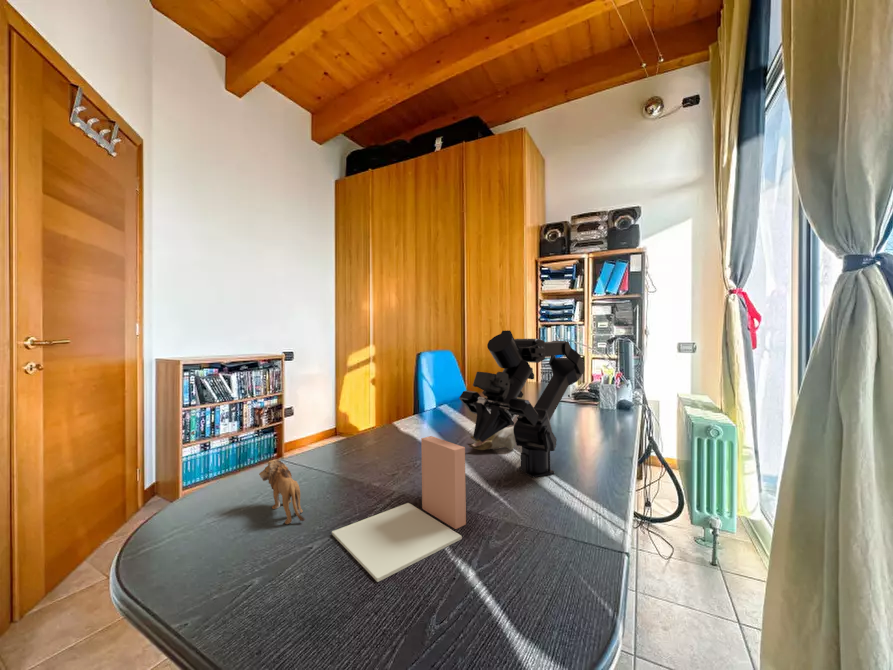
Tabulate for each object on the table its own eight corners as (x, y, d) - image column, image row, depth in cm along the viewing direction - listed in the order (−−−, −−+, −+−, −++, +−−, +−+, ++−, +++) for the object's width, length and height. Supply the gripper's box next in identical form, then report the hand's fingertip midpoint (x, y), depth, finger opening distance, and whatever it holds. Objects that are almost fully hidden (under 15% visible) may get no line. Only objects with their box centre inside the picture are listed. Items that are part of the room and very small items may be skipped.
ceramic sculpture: (519, 424, 102) (467, 426, 104) (521, 454, 102) (469, 456, 104) (516, 416, 112) (469, 418, 114) (519, 443, 112) (471, 445, 114)
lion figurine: (257, 505, 74) (256, 461, 74) (282, 495, 78) (282, 454, 78) (291, 529, 64) (290, 479, 64) (318, 517, 68) (317, 470, 68)
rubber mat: (408, 505, 73) (408, 502, 73) (461, 538, 60) (461, 535, 60) (331, 534, 62) (331, 531, 62) (377, 582, 50) (377, 578, 50)
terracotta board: (432, 504, 73) (431, 435, 73) (465, 524, 65) (464, 447, 65) (422, 508, 71) (421, 438, 71) (455, 529, 63) (454, 450, 63)
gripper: (464, 356, 85) (428, 409, 78) (529, 359, 71) (491, 425, 63) (487, 386, 90) (455, 438, 83) (552, 395, 76) (520, 459, 69)
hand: (477, 439), depth 74 cm, fingers closed
